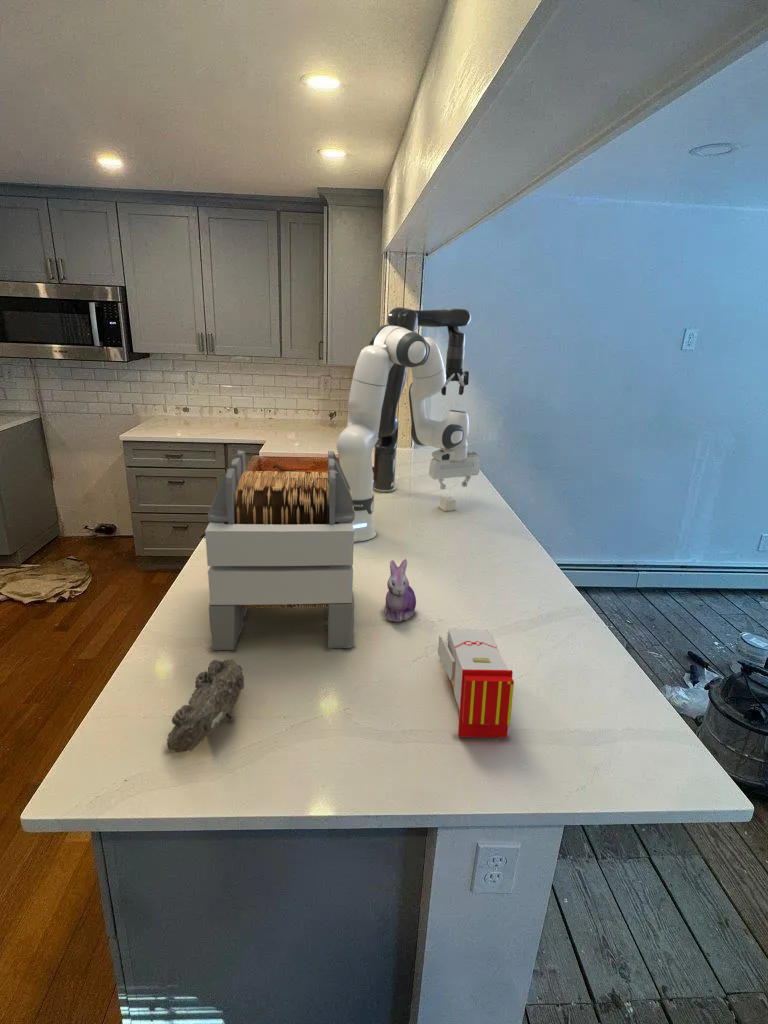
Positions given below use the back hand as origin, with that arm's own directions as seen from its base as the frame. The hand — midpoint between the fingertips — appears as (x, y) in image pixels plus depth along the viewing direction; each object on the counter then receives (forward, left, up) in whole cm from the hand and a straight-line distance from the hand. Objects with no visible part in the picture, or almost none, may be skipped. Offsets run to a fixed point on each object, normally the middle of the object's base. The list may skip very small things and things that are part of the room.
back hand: (452, 394), depth 252 cm
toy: (+95, -125, -40) cm, 162 cm away
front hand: (+28, -36, -29) cm, 54 cm away
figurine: (+64, -111, -40) cm, 134 cm away
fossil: (+63, -166, -40) cm, 182 cm away
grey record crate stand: (+43, -131, -40) cm, 144 cm away
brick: (+24, -33, -40) cm, 57 cm away
